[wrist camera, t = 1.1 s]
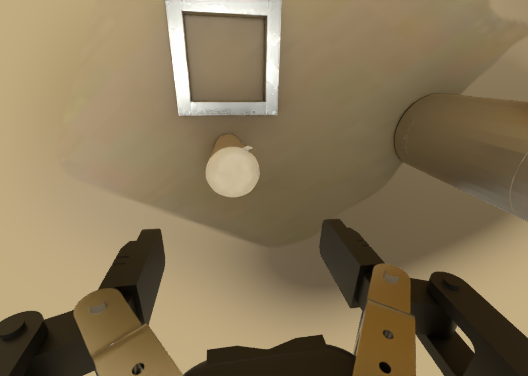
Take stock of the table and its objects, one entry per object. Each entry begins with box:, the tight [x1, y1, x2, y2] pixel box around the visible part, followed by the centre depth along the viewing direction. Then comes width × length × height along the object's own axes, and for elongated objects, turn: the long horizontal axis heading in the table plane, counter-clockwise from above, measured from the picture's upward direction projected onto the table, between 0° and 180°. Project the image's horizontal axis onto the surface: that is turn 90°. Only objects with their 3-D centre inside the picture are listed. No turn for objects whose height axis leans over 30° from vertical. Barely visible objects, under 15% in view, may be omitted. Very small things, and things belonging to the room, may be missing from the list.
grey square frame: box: [165, 0, 281, 116], centre depth 25 cm, size 10×10×2 cm
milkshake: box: [206, 134, 260, 197], centre depth 24 cm, size 4×5×10 cm
